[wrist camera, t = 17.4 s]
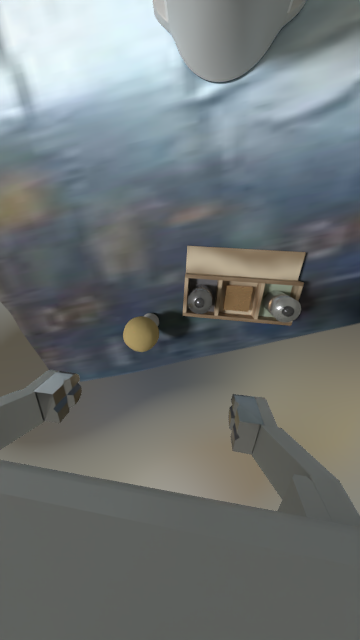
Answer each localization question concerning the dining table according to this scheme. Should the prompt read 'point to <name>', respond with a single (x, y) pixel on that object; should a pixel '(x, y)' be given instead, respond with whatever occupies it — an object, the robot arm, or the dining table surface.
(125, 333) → the light bulb
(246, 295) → the brown square tile
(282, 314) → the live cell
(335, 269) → the dining table surface
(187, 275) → the wooden compartment tray
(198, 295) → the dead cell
